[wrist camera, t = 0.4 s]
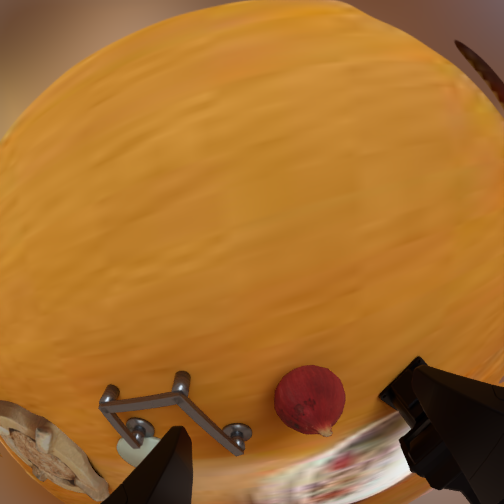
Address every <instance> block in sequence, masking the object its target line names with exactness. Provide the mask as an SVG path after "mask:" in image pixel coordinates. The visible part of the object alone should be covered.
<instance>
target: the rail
mask: <svg viewBox="0 0 504 504" xmlns="http://www.w3.org/2000/svg"><path fill="white" fill-rule="evenodd" d="M190 378H191V377H190V375H189V373H187V372H185V371H178V372H177V373H176V374H175V379H174V383H173V387H172V392H168V393H162V394H157V395H151V396H145V397H138V398H131V399H124V400H116V399H117V397H118V395H119V392H120V391H119V389H118V388H117V387H116V386H114V385H111V384H110V385H108V386H107V387H106V389H105V391H104V393H103V395H102V397H101V399H100V401H99V404H100V405H99V409H100V411H101V412H102V413H103V415H104V416H105V417H106V418H107V420H108V421H109V422H110V423H111V424H112V426H113V427H114V428H115V429H116V430H117V432H118V433H119V434H120V435H121V436H122V437H123V439H124V440H125V441H126V442H127V443H128V444H129V445H130V446H131V447H132V448H133V449H140V447H141V446H142V445H143V441H144V437H146V438H148V437H151V436H153V435H154V427H153V425H152V424H151V423H149V422H148V421H146V420H144V419H141V418H130V419H128V421H127V423H126V426H125V425H124V423H123V422H122V421H121V420H120V418H119V417H118V416H117V415H116V412H126V411H135V410H143V409H150V408H157V407H163V406H169V405H175V404H177V405H178V406H179V407H180V408H181V409H182V410H183V411H185V412H186V413H187V414H188V415H189V416H190V417H191V418H192V419H193V420H194V421H195V422H196V423H197V424H198V425H199V426H201V427H202V428H203V429H204V430H205V431H206V432H207V433H208V434H210V435H211V436H212V437H213V438H214V439H215V440H217V441H218V442H219V443H220V444H221V445H223V446H224V447H225V448H226V449H227V450H229V451H230V452H231V453H232V454H234V455H235V456H239V455H242V454H244V450H245V443H244V441H247V440H248V439H250V438H251V436H252V430H251V428H250V427H249V426H247V425H245V424H241V423H233V424H229V425H227V426H225V427H224V428H223V429H222V430H221V429H220V428H219V427H218V426H217V425H216V424H215V423H214V422H213V421H212V420H210V419H209V418H208V417H207V416H206V415H205V414H204V413H203V412H202V411H201V410H200V409H199V408H198V407H197V406H196V405H195V404H194V403H193V402H192V401H191V400H190V399H189V398H188V392H189V385H190Z"/></svg>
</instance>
